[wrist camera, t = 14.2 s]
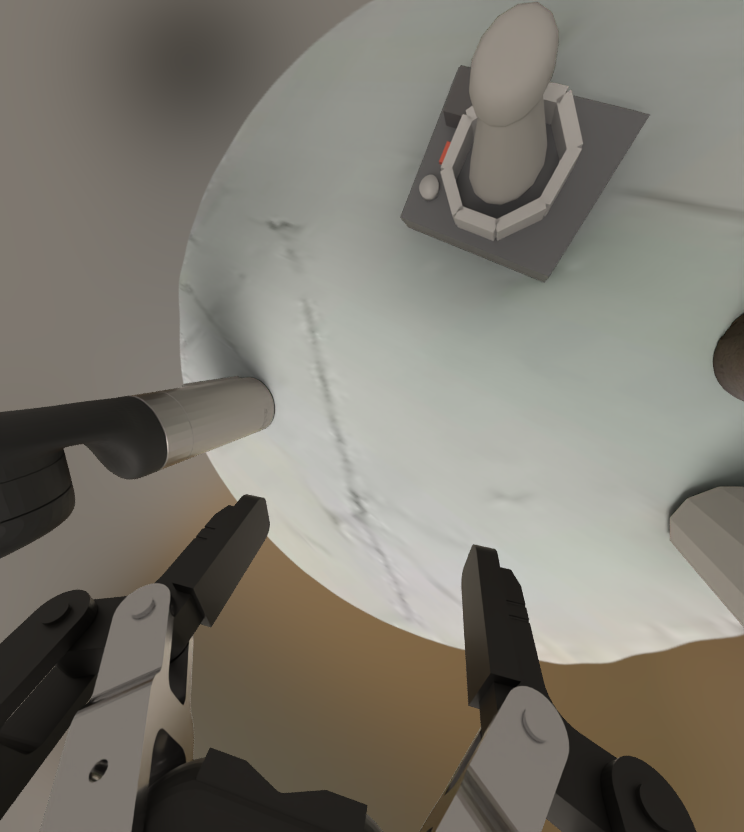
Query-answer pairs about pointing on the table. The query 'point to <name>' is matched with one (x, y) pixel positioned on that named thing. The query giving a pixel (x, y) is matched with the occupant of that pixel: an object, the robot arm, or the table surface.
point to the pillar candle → (731, 359)
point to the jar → (714, 542)
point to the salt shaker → (511, 101)
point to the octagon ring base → (542, 203)
